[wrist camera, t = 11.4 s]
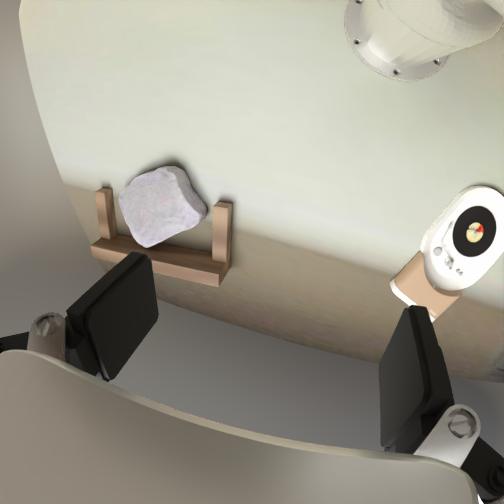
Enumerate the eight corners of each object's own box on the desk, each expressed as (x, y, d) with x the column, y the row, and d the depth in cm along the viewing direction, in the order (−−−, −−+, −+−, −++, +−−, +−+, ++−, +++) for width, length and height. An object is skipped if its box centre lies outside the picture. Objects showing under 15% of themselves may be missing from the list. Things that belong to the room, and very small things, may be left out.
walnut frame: (102, 187, 44) (82, 198, 40) (232, 203, 40) (219, 216, 36) (109, 243, 49) (92, 256, 45) (230, 268, 45) (218, 287, 41)
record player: (386, 287, 37) (486, 171, 27) (383, 275, 40) (475, 166, 30) (437, 328, 38) (529, 230, 28) (433, 315, 40) (519, 221, 30)
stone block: (129, 189, 45) (154, 246, 47) (109, 192, 41) (135, 254, 42) (187, 153, 41) (215, 217, 42) (168, 152, 36) (199, 224, 38)
